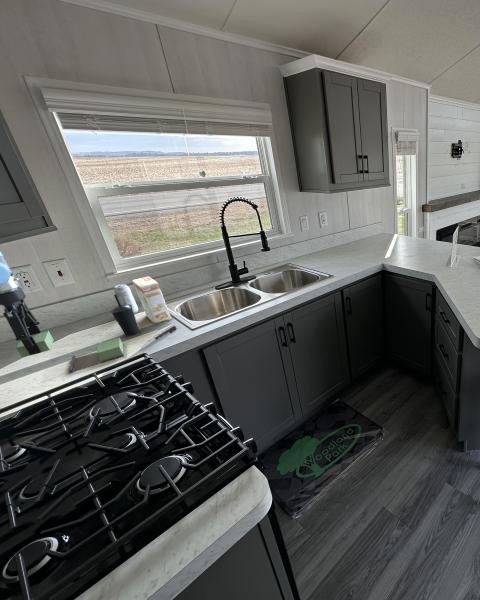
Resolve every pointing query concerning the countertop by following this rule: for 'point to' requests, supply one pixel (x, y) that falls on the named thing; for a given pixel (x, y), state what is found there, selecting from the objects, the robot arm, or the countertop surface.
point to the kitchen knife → (162, 334)
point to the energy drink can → (125, 296)
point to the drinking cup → (125, 318)
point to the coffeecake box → (151, 299)
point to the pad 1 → (42, 340)
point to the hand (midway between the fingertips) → (38, 347)
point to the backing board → (87, 361)
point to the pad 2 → (110, 349)
